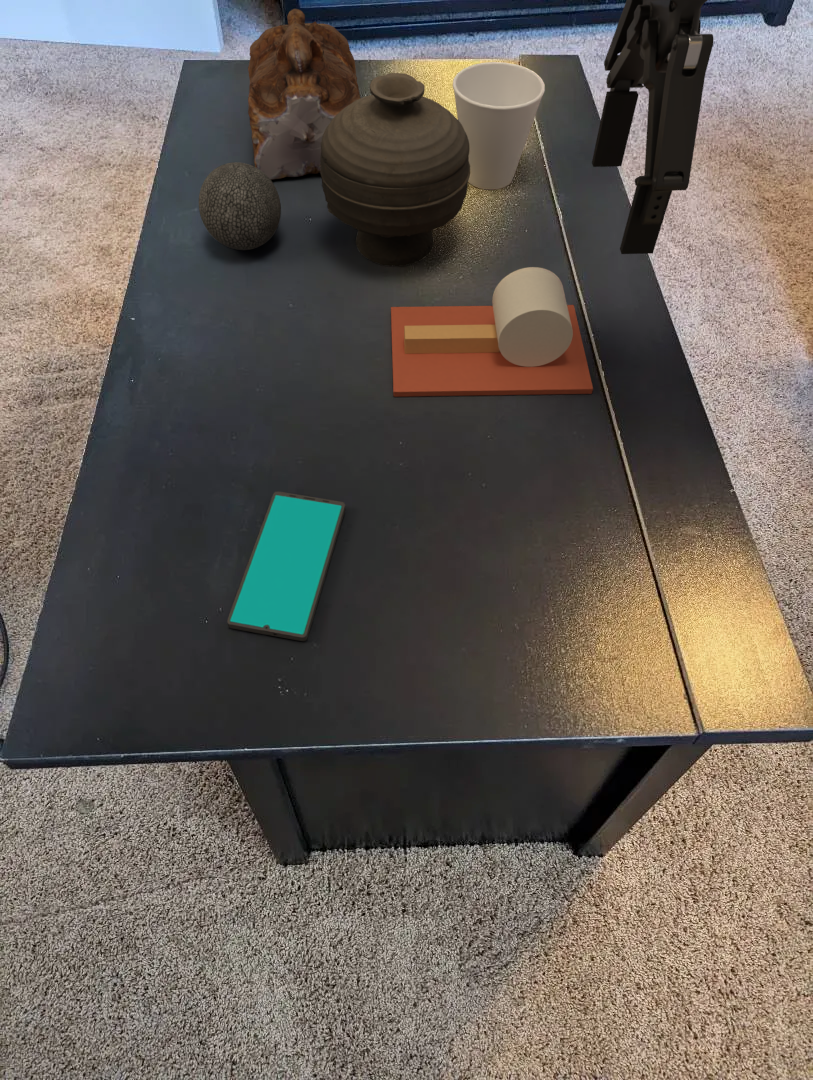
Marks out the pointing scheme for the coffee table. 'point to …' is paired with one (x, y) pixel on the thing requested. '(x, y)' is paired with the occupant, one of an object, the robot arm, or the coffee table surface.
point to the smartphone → (287, 566)
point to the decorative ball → (239, 206)
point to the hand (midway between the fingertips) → (620, 205)
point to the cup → (496, 118)
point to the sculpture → (297, 93)
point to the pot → (395, 169)
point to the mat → (479, 361)
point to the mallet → (508, 323)
